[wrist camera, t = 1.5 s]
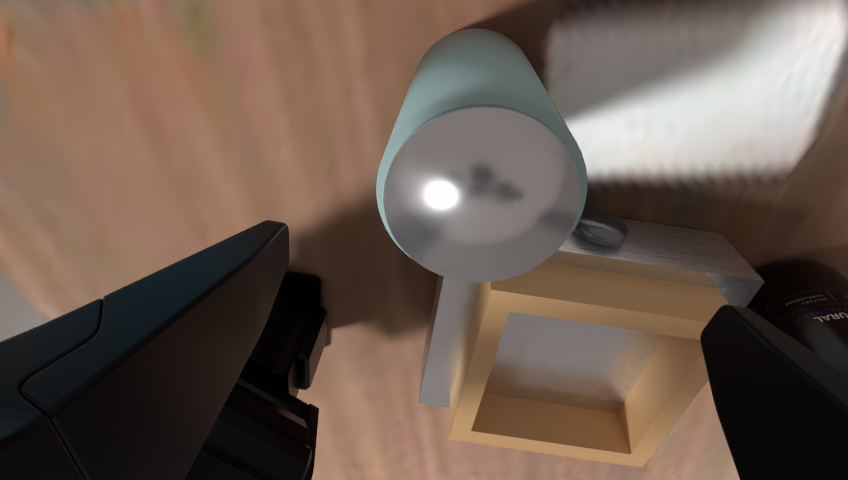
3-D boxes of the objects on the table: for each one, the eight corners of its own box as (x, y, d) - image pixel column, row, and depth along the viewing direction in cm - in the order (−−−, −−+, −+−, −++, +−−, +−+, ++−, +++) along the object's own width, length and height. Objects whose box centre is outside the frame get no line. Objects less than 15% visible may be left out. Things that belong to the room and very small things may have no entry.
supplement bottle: (821, 233, 23) (1106, 460, 13) (856, 313, 25) (1115, 554, 15) (686, 294, 25) (832, 520, 15) (730, 361, 28) (880, 591, 18)
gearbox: (423, 351, 29) (414, 442, 24) (455, 182, 22) (453, 256, 17) (630, 382, 30) (668, 479, 24) (726, 223, 23) (809, 310, 17)
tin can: (405, 142, 22) (367, 273, 13) (420, 18, 18) (382, 80, 10) (517, 160, 22) (554, 301, 13) (550, 39, 19) (625, 118, 10)
